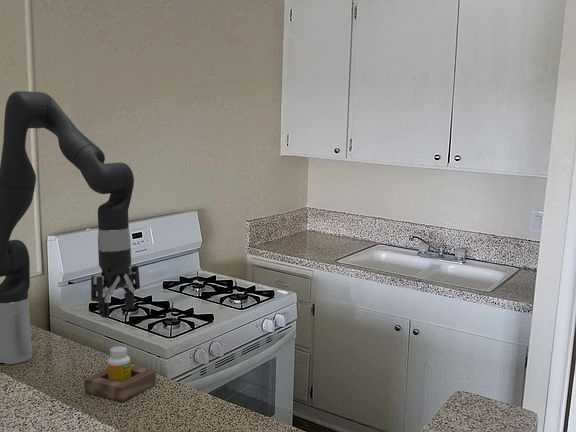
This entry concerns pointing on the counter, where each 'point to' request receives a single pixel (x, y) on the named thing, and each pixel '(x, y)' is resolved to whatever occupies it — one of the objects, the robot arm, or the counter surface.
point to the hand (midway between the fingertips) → (117, 312)
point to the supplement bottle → (119, 364)
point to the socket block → (120, 384)
